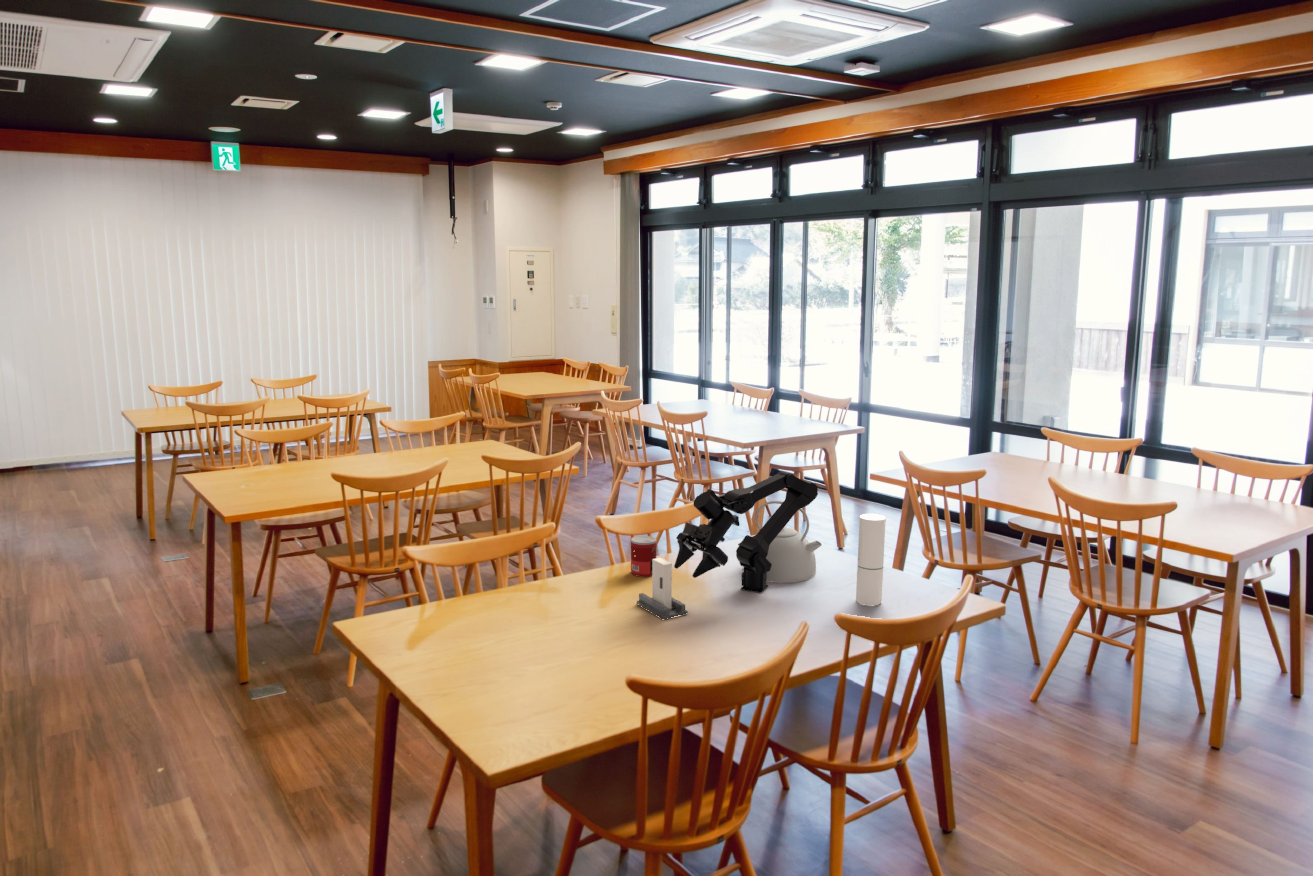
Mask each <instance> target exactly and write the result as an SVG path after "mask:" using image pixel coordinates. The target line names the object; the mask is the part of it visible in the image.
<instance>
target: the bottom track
mask: <svg viewBox="0 0 1313 876" xmlns="http://www.w3.org/2000/svg"><path fill="white" fill-rule="evenodd" d="M637 604H639V605H640V606H642V607H643V608H645V609H647V610H649V611H650V612H652V613H653V614H655V615H657V616H659V617H660V618H661V619H660V618H659V619H660V620H662V619H667V618H671V617H674V616H678V615H683V614H686V613H689V611H688V610H687V609H686V604H685V603H683V602H681V601H679V600H678V599H675V598H674V597H672V608H671V609H669V608H668V607H666V606H664V605H663V604H661V603H659V602H657V601H656V600H654V599H652V597H651V596H648V595H647V594H645V593H644V592H643V593H642V592H641V593H638V600H636V605H637ZM640 606H639V607H640ZM642 607H641V608H642ZM643 608H642V609H643ZM645 609H644V610H645ZM647 610H646V611H647ZM650 612H649V613H650ZM652 613H651V614H652ZM653 614H652V615H653ZM655 615H654V616H655ZM657 616H656V617H657ZM671 619H672V618H671ZM667 620H668V619H667Z"/></svg>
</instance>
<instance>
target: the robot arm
mask: <svg viewBox="0 0 1313 876" xmlns="http://www.w3.org/2000/svg"><path fill="white" fill-rule="evenodd" d="M783 489H786V492H785V499H784V500H783V501H782V502H783V503H782V504H780V505H779V507H777V509H776V510H775V512H774V513H773V514H772V515H771V516H770V517H769V519H768V520H767V521H766V522H765V524H764V525H763V526H762V527H760V528H761V530H760V531H759V530H758V532H757V533H756V534H754V535H753V536H751V535H748V534H746V535H745V536H744V537H743V539H742V540H741V542H739V543H738V544H737V545H738V547H736V551H735V553H736V559H737V560H738V562H739V564H740V566H741V567H743V571H742V572H741V587H740V590H742V591H747V592H754V593H763V592H764V591H765V590H766V589H767V588H768V587H769V584H767V581H766V578H767V572H768V571H770V569H771V566H772V564H771V563H770V562H769V561H768V560H767V559H766V557H767V555H768V550H769V545H770V544H771V543H772V541H773V540H774V539H775V538H776V536H777V535H778V534H779V533H780V532H781V530H782V529H783V528H784V527H786V526H787V524H788V523H790V521H791V519H792V518H793V517H794V516H795V514H796V513H797V512H798V511H799V509H803V508H805V507H807V506H810V504H812V502H813V501H815V499H817V497H818V494H819V493H818V491H819V489H818V485H817V484H816V483H814V482H812V481H808V480H805V479H802V478H799V477H797V476H795V475H794V474H792V473H790V472H787V471H783V470H781V471H778V472H777V473H776V474H774V475H772V476H770V477H768V478H766V479H764V480H761V481H759V482H758V483H754V484H752V485H751V486H748V487H744V488H743V487H742V488H735V489H732V490H731V489H730V490H728V491H726V492H725V493H724V494H722V495H720V496H718V495H717V494H716V492H715V491H714V490H712V489H707V490H706V491H704V492H701V493H700V494H699V495H697V496H696V497H695V498H694V499H693V507H695V509H696V510H697V511H698V512H699V513H700V514H701V515H702V516H703V517H704V518H705V519H706V520H709V521H708V522H707V524H706V523H703V524H702V523H701V524H699V525H696V524H693V523H690V522H687V521H686V523H685V525H684V528H683V531H682V532H679V533H678V535H676V540H677V544H678V546H679V547H678V548H679V549H678V553H677V557H676V559H675V562H674V565H673V566H674V568H675V570H678V569H679V568H680V567H682V565H684V564H685V563H686V562H687V561H688V560H690V558H692V557H693V556H694V555H695V553H694V552H697V551H700V552H702V557H701V560H700V562H699V564H698V565H697V567H696V568H695V569H694V571H693V573H692V577H693V578H694V579H696V578H697V577H699V576H702V575H704V574H705V573H707V572H710V571H711V570H713V569H715V568H718V567H719V568H720V567H721V566H723V567H725V566H726V564H727V563H728V562H729V556H728V555H727V554H726V553H725V552H724V551H723V549H721V548H720V547H718V544H719V543H720V542H722V543H724V541H726V540H725V539H726V538H724V536H725V535H726V534H727V532H728V530H730V528H731V526H732V525H733V526H737V527H739V526H740V525H741V524H740V520H739V517H740V516H739V515H743V514H745V513H747V512H748V511H749V510H751V509H753V508H754V506H755V504H756V503H758V502H759V501H761V500H763V499H765V498H767V497H769V496H771V495H773V494H775V493H778V492H779V491H781V490H783ZM732 512H733V513H736V514H739V515H736V514H733V513H732ZM744 567H745V568H744Z"/></svg>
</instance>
